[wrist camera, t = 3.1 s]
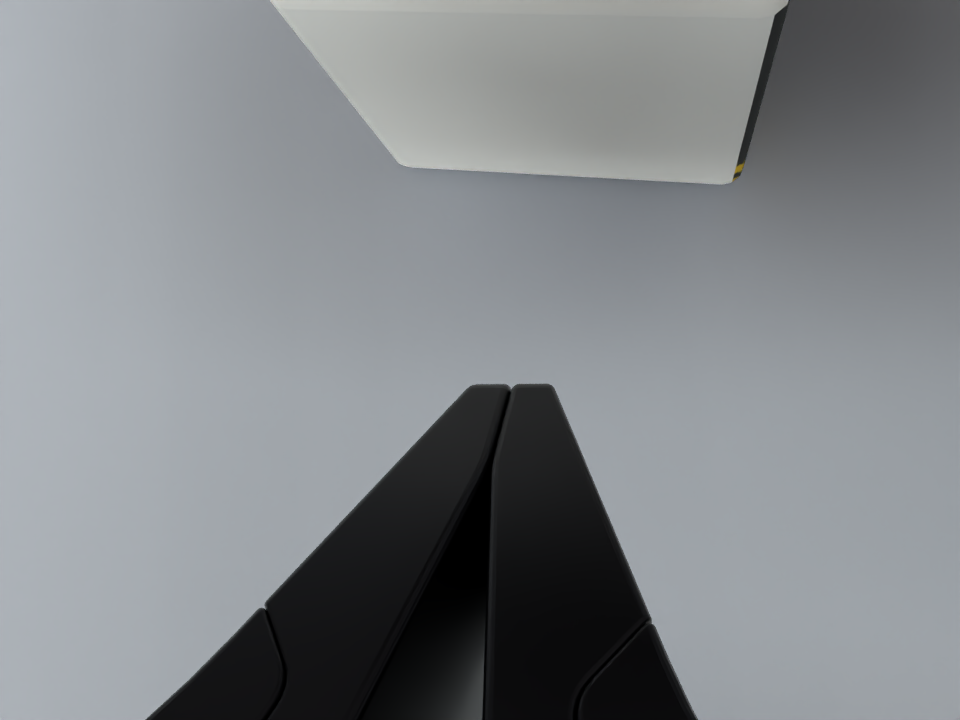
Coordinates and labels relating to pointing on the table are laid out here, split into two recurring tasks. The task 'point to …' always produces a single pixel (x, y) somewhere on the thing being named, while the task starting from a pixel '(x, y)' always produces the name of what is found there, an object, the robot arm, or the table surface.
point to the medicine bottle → (552, 81)
